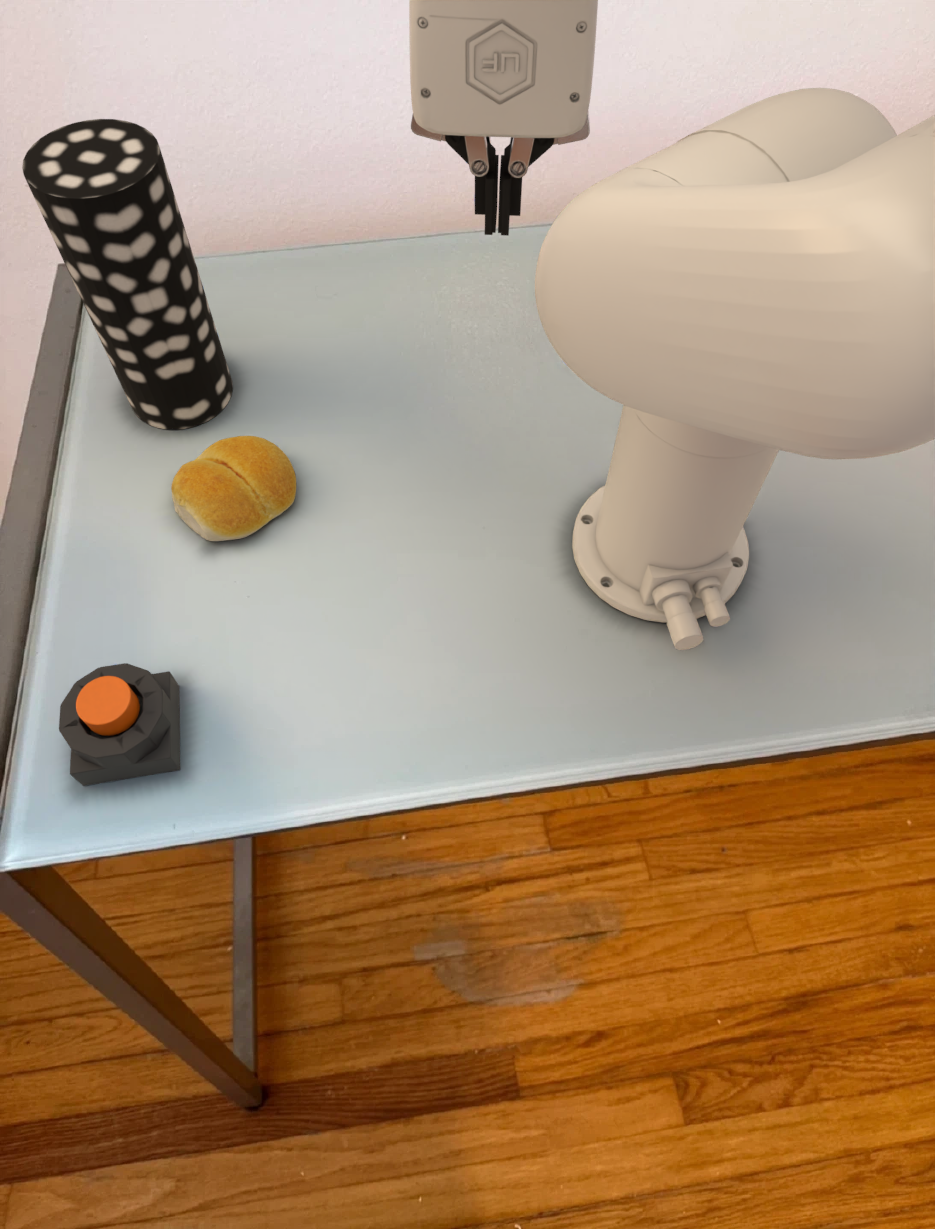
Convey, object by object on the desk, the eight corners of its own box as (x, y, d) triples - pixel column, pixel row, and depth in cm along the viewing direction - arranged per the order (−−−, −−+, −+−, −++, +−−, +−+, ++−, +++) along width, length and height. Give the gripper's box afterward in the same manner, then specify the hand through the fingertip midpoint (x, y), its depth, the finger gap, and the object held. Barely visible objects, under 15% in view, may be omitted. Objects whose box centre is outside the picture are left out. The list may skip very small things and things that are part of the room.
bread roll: (319, 492, 66) (311, 457, 62) (226, 563, 62) (212, 530, 59) (249, 435, 68) (238, 399, 65) (157, 500, 65) (140, 465, 62)
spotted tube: (249, 368, 72) (183, 132, 55) (204, 440, 68) (117, 210, 51) (160, 346, 73) (67, 109, 56) (111, 416, 69) (-5, 183, 52)
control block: (181, 770, 54) (162, 747, 51) (82, 787, 54) (56, 764, 50) (180, 684, 57) (162, 657, 54) (86, 699, 57) (61, 672, 53)
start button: (139, 731, 52) (130, 719, 50) (85, 740, 51) (74, 728, 50) (140, 684, 53) (131, 671, 52) (87, 692, 53) (76, 679, 52)
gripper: (343, -92, 40) (379, 255, 56) (667, -85, 39) (611, 263, 55) (362, -155, 44) (391, 185, 59) (658, -150, 43) (608, 192, 59)
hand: (497, 222), depth 57 cm, fingers closed
